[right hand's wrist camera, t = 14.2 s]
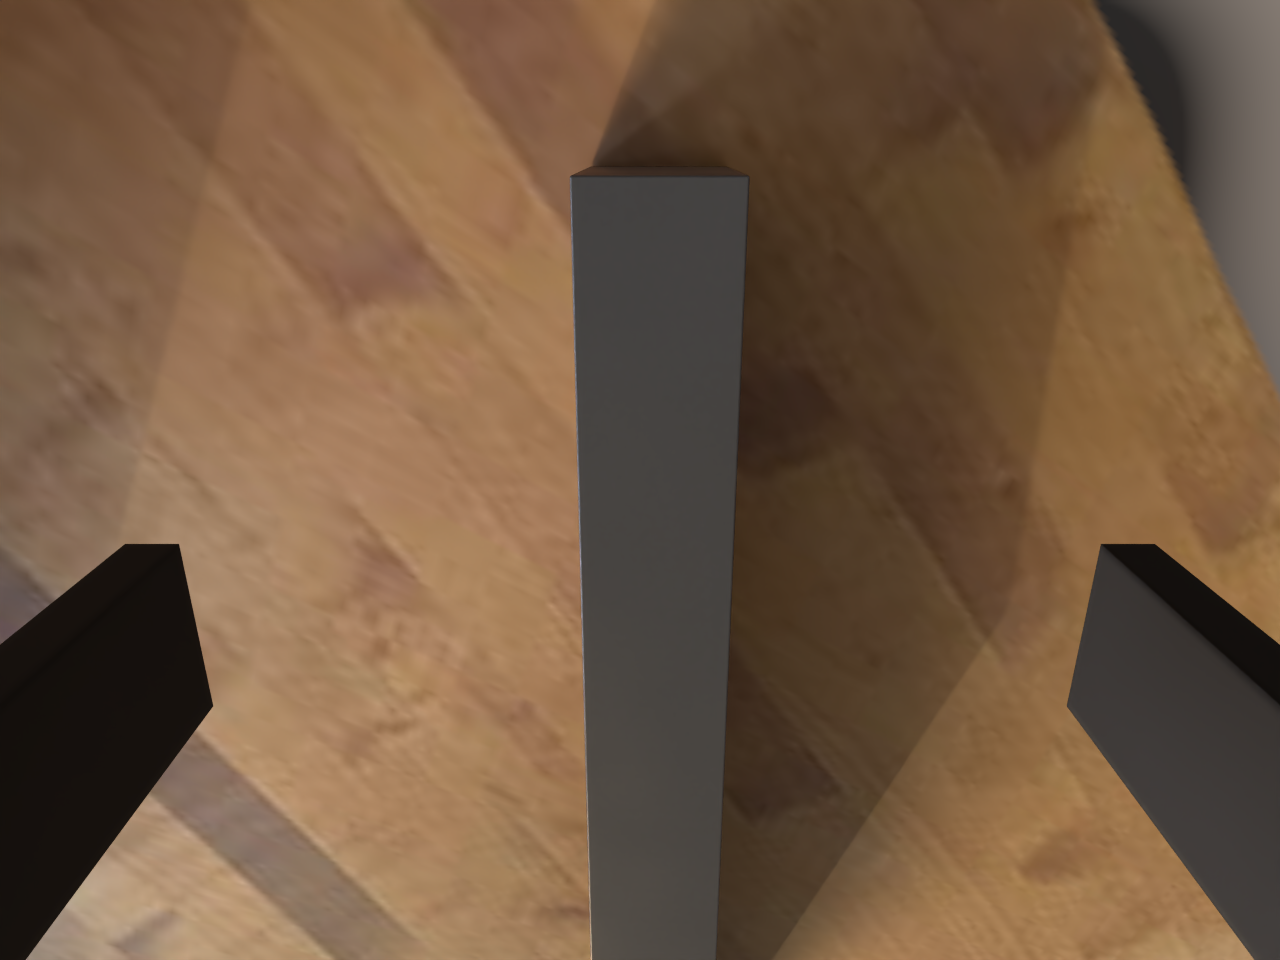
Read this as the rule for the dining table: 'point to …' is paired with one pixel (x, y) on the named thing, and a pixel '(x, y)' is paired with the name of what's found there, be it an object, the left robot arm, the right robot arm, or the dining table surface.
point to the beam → (656, 540)
